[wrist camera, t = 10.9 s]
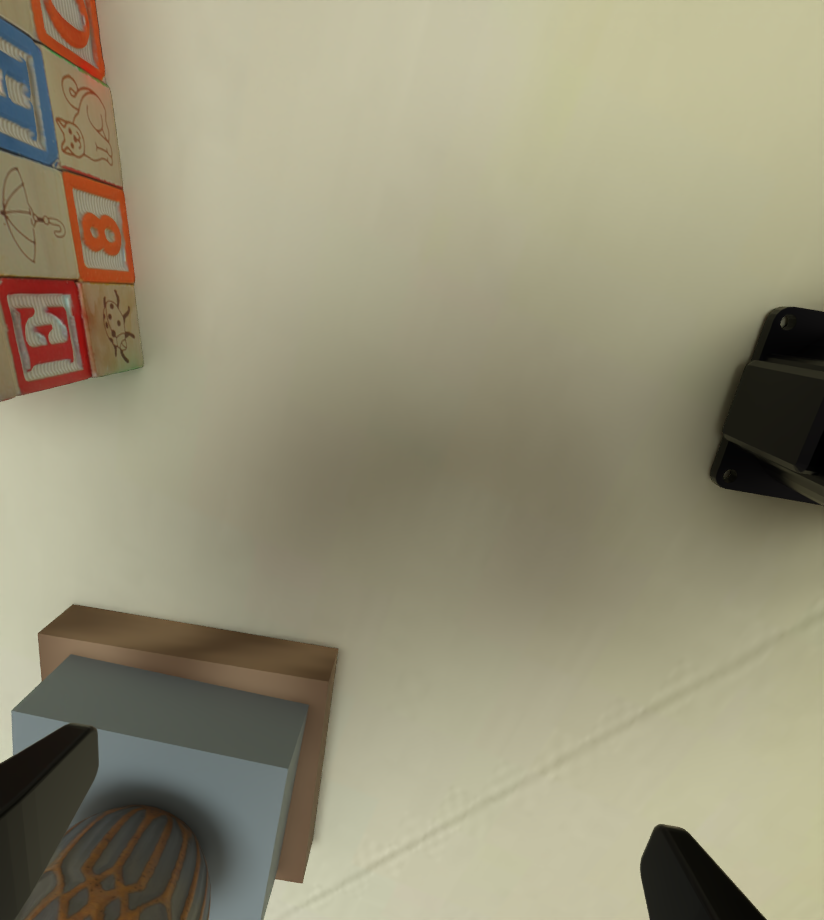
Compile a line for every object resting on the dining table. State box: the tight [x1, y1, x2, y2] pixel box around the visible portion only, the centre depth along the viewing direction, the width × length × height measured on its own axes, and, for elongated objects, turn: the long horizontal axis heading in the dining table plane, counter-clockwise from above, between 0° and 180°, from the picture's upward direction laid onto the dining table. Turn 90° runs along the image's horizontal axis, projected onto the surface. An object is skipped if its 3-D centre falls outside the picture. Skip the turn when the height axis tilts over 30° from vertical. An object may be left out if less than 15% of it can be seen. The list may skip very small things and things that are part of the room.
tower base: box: [38, 604, 338, 883], centre depth 24 cm, size 12×12×3 cm
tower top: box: [11, 654, 309, 920], centre depth 21 cm, size 10×10×3 cm
